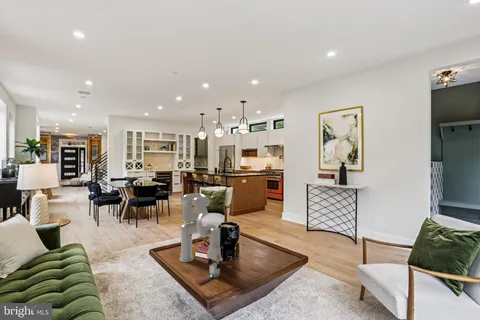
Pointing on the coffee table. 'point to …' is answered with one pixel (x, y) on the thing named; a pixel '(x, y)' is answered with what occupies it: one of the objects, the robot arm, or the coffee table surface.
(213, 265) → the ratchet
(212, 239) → the robot arm
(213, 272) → the socket
